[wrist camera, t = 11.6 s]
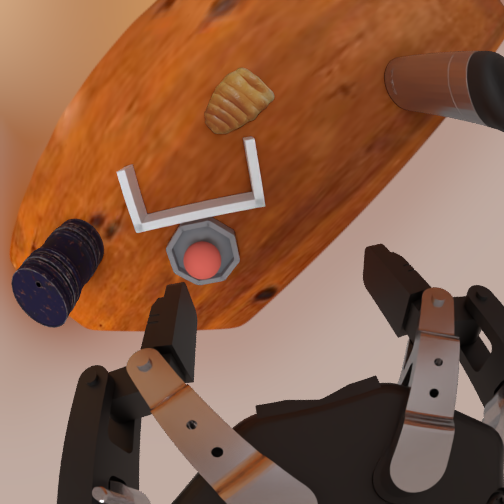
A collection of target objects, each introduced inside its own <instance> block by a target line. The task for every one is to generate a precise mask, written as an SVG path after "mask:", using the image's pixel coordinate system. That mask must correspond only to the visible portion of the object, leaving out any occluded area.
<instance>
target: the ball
mask: <svg viewBox="0 0 504 504" xmlns="http://www.w3.org/2000/svg"><path fill="white" fill-rule="evenodd" d="M183 262H184V267H185V269H186V271H187V272H188V273H189V274H190V275H191V276H192V277H194V278H196V279H208V278H211V277H213V276H214V275H215V274H216V273H217V272H218V270H219V268H220V266H221V255H220V252H219V251H218V249H217V248H216V247H215V246H214V245H213V244H211V243H209V242H204V241H200V242H196V243H194V244H192V245H191V246H189V247H188V249H187V250H186V252H185V254H184V259H183Z"/></svg>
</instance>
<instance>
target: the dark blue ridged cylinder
mask: <svg viewBox="0 0 504 504" xmlns="http://www.w3.org/2000/svg"><path fill="white" fill-rule="evenodd" d="M103 254H104V247H103V242H102V239H101V237H100V235H99V233H98V232H97V231H96V229H95V228H94V227H93V226H91V225H90V224H89V223H87V222H86V221H83V220H80V219H70V220H67V221H66V222H64V223H63V224H62V225H61V226H60V227H58V228H57V229H56V230H55V231H54V232H53V233H52V234H51V235H50V236H49V237H48V238H47V240H46V241H45V243H44V244H43V245H42V246H41V247H40V248H38V249H37V250H35V251H34V252H32V253H31V255H30V256H29V257H28V258H27V259H26V260H25V261H24V262H23V264H22V265H21V266H20V268H19V269H18V270H17V271H16V272H15V273H14V275H13V278H12V289H13V293H14V296H15V298H16V300H17V302H18V304H19V305H20V306H21V308H22V309H23V310H24V311H25V313H26V314H27V315H28V316H30V317H31V318H32V319H33V320H35V321H36V322H38V323H40V324H42V325H44V326H47V327H59V326H61V325H63V324H64V323H65V321H66V319H67V317H68V316H69V314H70V312H71V311H72V310H73V308H74V306H75V304H76V302H77V301H78V299H79V297H80V294H81V290H82V288H83V286H84V285H85V284H86V283H87V282H88V281H89V279H90V278H91V277H92V276H93V274H94V272H95V271H96V269H97V267H98V265H99V263H100V262H101V260H102V258H103Z"/></svg>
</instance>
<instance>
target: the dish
mask: <svg viewBox="0 0 504 504" xmlns="http://www.w3.org/2000/svg"><path fill="white" fill-rule="evenodd" d="M200 241H204V242H209V243H211V244H213V245H214V246H215V247H216V248H217V249H218V251H219V252H220V255H221V266H220V268H219V270H218V272H217V273H216V274H215V275H214V276H213V277H211V278H208V279H196V278H194V277H192V276H191V275H190V274H189V273H188V272H187V271H186V269H185V267H184V262H183V259H184V254H185V252H186V250H187V249H188V247H189V246H191V245H192V244H194V243H196V242H200ZM166 252H167V254H168V257H169V260H170V263H171V266H172V268H173V271H174V273H175V274H177V275H179V276H181V277H183V278H185V279H187V280H188V281H190V282H192V283H194V284H196V285H203V284H209V283H214V282H220V281H224V280H225V279H226V278H227V277H228V275H229V274H230V273H231V272H232V270H233V269H234V268H235V267H236V265H237V264H238V263H239V261H240V257H239V251H238V246H237V242H236V237H235V232H234V230H233V229H231V228H229V227H228V226H226V225H224V224H223V223H221V222H219V221H218V220H216V219H214V218H213V217H207V218H202V219H197V220H193V221H188V222H183V223H180V224H179V226H178V227H177V229H176V231H175V232H174V234H173V236H172V237H171V239H170V241H169V242H168V245H167V247H166Z"/></svg>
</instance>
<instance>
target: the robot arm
mask: <svg viewBox="0 0 504 504" xmlns="http://www.w3.org/2000/svg"><path fill="white" fill-rule="evenodd" d="M385 84H386V88H387V91H388V93H389V95H390V97H391V98H392V100H393V101H394V102H395V103H396V104H397V105H398V106H399V107H401V108H403V109H405V110H408V111H415V112H422V113H428V114H434V115H439V116H445V117H450V118H454V119H459V120H464V121H468V122H472V123H476V124H480V125H484V126H488V127H491V128H494V129H498V130H500V131H502V132H504V57H503V56H501V55H500V54H498V53H495V52H492V51H458V52H441V53H430V54H420V55H412V56H405V57H398V58H395V59H393V60H392V61H390V63H389V64H388V65H387V68H386V70H385ZM363 281H364V285H365V287H366V289H367V290H368V292H369V293H370V295H371V296H372V298H373V299H374V301H375V302H376V304H377V305H378V307H379V308H380V310H381V311H382V313H383V315H384V316H385V318H386V319H387V321H388V322H389V324H390V326H391V327H392V329H393V330H394V332H395V334H396V335H397V337H401V336H404V335H408V336H409V340H408V343H407V348H406V353H405V358H404V362H403V367H402V371H401V375H400V379H399V382H398V384H394V383H379V381H378V379H377V377H376V376H373V377H370V378H367V379H364V380H361V381H358V382H355V383H352V384H349V385H347V386H346V387H343V388H342V389H340V390H338V391H336V392H334V393H332V394H330V395H329V396H327V397H325V398H323V399H320V400H284V401H279V402H274V403H268V404H262V405H257V406H256V412H257V414H254V415H252V416H250V417H248V418H246V419H244V420H243V421H241V422H240V423H238V424H237V425H236V426H235V427H233V428H231V427H230V426H229V425H228V424H227V423H226V422H225V421H224V420H223V419H222V418H221V417H220V416H219V415H218V414H217V413H216V412H214V411H213V409H212V408H211V407H210V406H208V405H207V403H206V402H205V401H204V400H203V399H202V398H201V397H200V396H199V395H198V394H197V393H196V392H195V391H194V390H193V389H192V388H191V387H190V386H189V385H188V384H187V385H186V384H185V383H190V382H194V365H195V348H196V332H197V315H196V310H195V307H194V305H193V302H192V300H191V297H190V294H189V292H188V289H187V286H186V284H185V283H184V282H181V283H176V284H170V285H167V287H166V291H165V295H164V297H162V298H158V299H157V300H156V302H155V303H154V304H153V306H152V307H151V311H150V315H149V316H150V317H149V318H148V322H147V323H148V324H147V326H146V330H145V334H144V338H143V342H142V346H141V350H139V351H137V352H135V353H134V354H133V355H132V356H131V357H130V358H129V360H128V362H127V366H126V367H123V368H120V369H117V370H114V371H111V372H109V373H108V371H107V370H106V369H105V368H104V367H103V366H99V365H95V366H91V367H89V368H87V369H86V370H85V371H84V372H83V373H82V374H81V376H80V378H79V381H78V384H77V388H76V392H75V396H74V400H73V404H72V408H71V412H70V417H69V421H68V425H67V431H66V436H65V441H64V447H63V453H62V460H61V467H60V475H59V485H58V496H57V497H58V498H57V504H150V501H149V499H148V498H147V497H146V495H145V494H144V493H142V492H141V491H139V451H140V450H139V449H140V431H141V430H140V429H141V417H144V416H148V415H150V414H153V416H154V417H155V419H156V420H157V422H158V423H159V424H160V426H161V427H162V429H163V430H164V431H165V433H166V434H167V435H168V436H169V438H170V439H171V440H172V442H174V444H175V445H176V447H177V448H178V449H179V450H180V452H181V453H182V454H183V455H184V456H185V458H186V459H187V460H188V461H189V462H190V463H191V464H192V466H193V467H194V468H195V469H196V470H197V471H198V473H197V474H196V475H195V476H194V478H193V479H192V480H191V481H190V482H189V484H188V485H187V486H186V487H185V489H184V490H183V491H182V492H181V493H180V494H179V496H178V497H177V498H176V499H175V500H174V501H173V502H172V504H504V473H503V470H504V306H503V305H502V304H501V302H500V301H499V300H498V299H497V298H496V297H495V296H494V294H493V293H492V292H491V291H490V290H489V289H487V288H485V287H483V286H480V285H474V286H472V287H470V288H469V290H468V292H467V295H466V296H464V297H452V296H451V294H450V293H449V292H447V291H446V290H444V289H441V288H436V287H433V288H431V287H430V286H429V284H428V283H427V282H426V281H425V280H424V279H423V278H422V277H421V276H420V275H419V274H418V272H417V271H415V270H414V268H413V267H411V265H409V263H408V262H407V261H406V260H405V259H404V258H403V257H402V256H400V255H398V254H396V253H394V252H392V253H391V252H390V251H389V250H388V249H387V248H386V247H385V246H384V245H383V244H377V245H373V246H369V247H366V249H365V255H364V270H363ZM481 330H482V331H483V332H484V333H485V335H486V336H487V338H488V339H489V340H490V342H491V345H492V352H491V353H490V352H489V350H488V349H487V347H486V346H485V344H484V343H483V341H482V340H481V338H480V337H479V334H480V332H481ZM459 361H460V363H461V364H462V366H463V368H464V370H465V371H466V373H467V375H468V377H469V379H470V381H471V382H472V384H473V386H474V388H475V390H476V392H477V394H478V396H479V398H480V400H481V402H482V404H483V406H484V408H485V409H484V418H483V420H482V422H481V421H478V420H476V419H474V418H471V417H469V416H467V415H465V414H463V413H461V412H458V411H456V410H454V409H455V402H456V394H457V385H458V373H459Z"/></svg>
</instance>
